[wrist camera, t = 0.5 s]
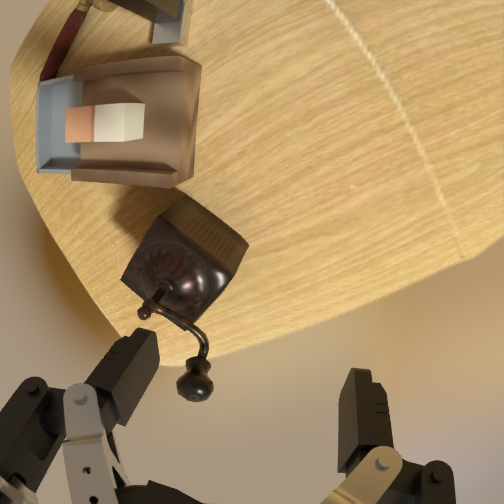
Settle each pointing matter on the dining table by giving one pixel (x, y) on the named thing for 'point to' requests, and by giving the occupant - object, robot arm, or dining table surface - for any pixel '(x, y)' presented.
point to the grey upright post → (164, 19)
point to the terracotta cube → (79, 124)
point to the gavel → (70, 35)
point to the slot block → (155, 121)
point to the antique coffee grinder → (185, 277)
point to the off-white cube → (118, 122)
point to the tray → (56, 125)
